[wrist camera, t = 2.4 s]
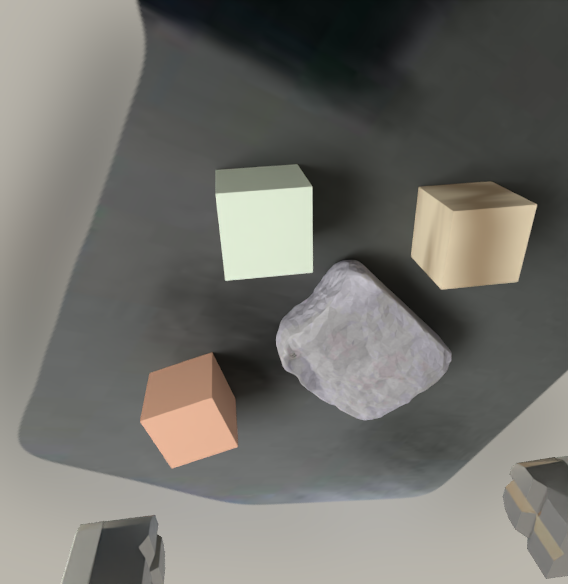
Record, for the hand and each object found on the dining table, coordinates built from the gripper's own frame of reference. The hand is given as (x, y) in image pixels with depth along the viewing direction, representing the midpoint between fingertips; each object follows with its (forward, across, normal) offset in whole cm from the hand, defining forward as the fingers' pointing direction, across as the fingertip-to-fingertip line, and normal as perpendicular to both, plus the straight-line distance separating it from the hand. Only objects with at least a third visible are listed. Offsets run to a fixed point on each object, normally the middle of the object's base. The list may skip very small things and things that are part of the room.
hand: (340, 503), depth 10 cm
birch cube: (+21, -13, +2) cm, 25 cm away
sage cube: (+21, 0, 0) cm, 21 cm away
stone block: (+22, -6, +11) cm, 25 cm away
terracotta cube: (+21, +6, +14) cm, 26 cm away
